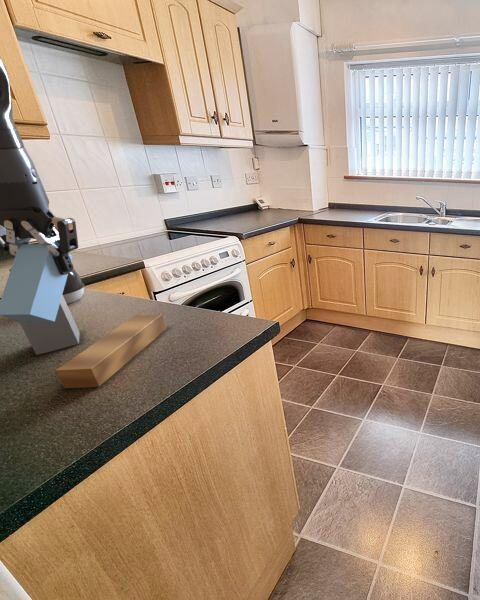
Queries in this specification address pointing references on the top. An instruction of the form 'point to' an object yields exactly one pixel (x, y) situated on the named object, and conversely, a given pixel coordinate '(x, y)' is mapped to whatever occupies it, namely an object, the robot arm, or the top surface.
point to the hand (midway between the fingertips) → (50, 272)
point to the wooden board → (111, 352)
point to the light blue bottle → (33, 286)
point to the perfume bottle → (52, 331)
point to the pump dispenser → (73, 287)
